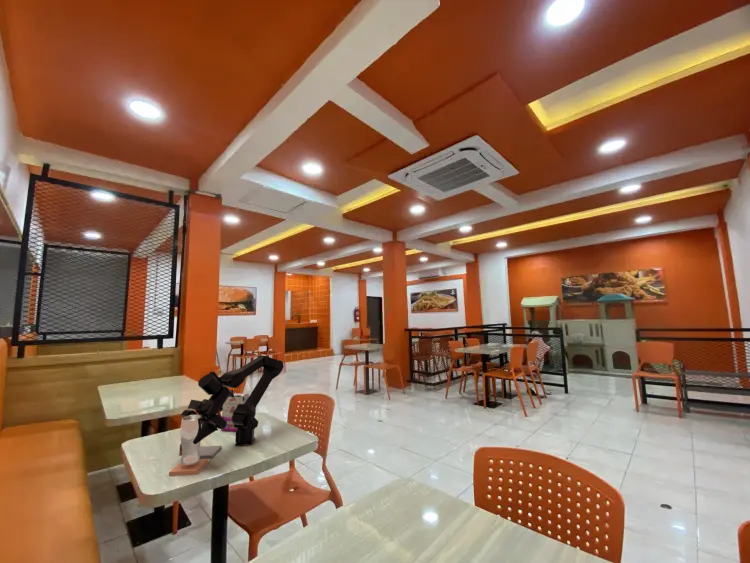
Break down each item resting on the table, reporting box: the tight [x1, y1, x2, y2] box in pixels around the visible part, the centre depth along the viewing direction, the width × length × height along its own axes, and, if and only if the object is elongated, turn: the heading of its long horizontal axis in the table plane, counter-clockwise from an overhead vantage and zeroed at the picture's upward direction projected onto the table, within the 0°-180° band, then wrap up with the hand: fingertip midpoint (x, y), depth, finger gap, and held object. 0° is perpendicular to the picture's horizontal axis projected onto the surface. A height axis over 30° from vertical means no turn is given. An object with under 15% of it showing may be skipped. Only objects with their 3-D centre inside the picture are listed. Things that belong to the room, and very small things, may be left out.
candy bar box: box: [220, 392, 250, 433], centre depth 150 cm, size 11×5×16 cm, turn 81°
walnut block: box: [178, 443, 182, 456], centre depth 125 cm, size 4×4×4 cm
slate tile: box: [199, 445, 223, 460], centre depth 123 cm, size 9×9×1 cm
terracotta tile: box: [168, 459, 210, 477], centre depth 111 cm, size 9×9×1 cm
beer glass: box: [179, 413, 203, 465], centre depth 112 cm, size 7×7×15 cm
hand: (187, 442), depth 111 cm, fingers closed on beer glass, 6 cm apart
